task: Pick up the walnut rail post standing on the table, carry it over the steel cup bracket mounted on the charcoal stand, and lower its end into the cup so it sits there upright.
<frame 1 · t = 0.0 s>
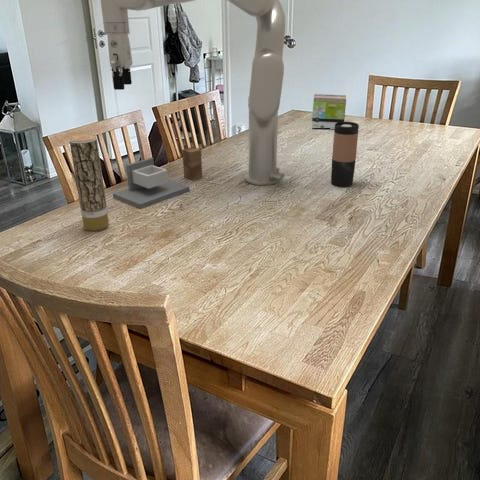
hand: (123, 86, 158), 31 cm above the table, tool pointing down, fingers open, 9 cm apart
travel mug: (341, 184, 166), on the table
brown bark cylinder: (96, 227, 137), on the table
tea box: (327, 127, 237), on the table
bracket stand: (152, 194, 159), on the table
rail post: (193, 177, 173), on the table
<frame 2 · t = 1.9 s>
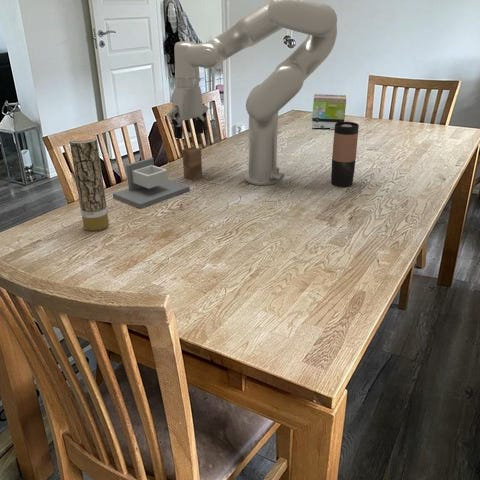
hand: (189, 135, 167), 15 cm above the table, tool pointing down, fingers open, 9 cm apart
nothing on the table moved.
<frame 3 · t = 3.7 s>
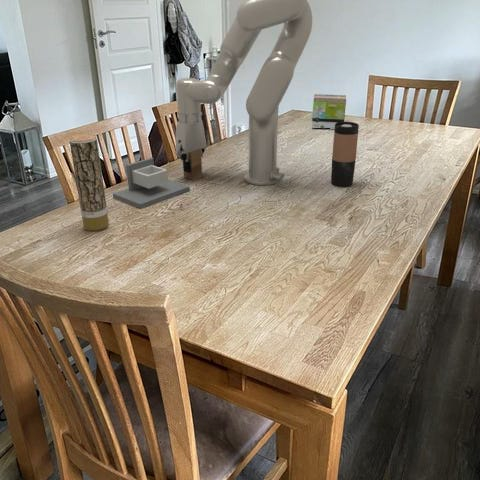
hand: (192, 169, 172), 3 cm above the table, tool pointing down, fingers closed on rail post, 4 cm apart
rail post: (193, 177, 173), on the table, touching gripper
everything else where it was.
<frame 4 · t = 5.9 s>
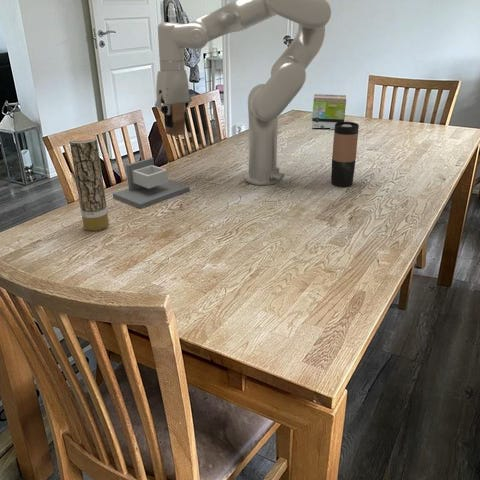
hand: (174, 124, 160), 20 cm above the table, tool pointing down, fingers closed on rail post, 4 cm apart
rail post: (175, 133, 161), point 17 cm above the table, touching gripper
everything else where it was.
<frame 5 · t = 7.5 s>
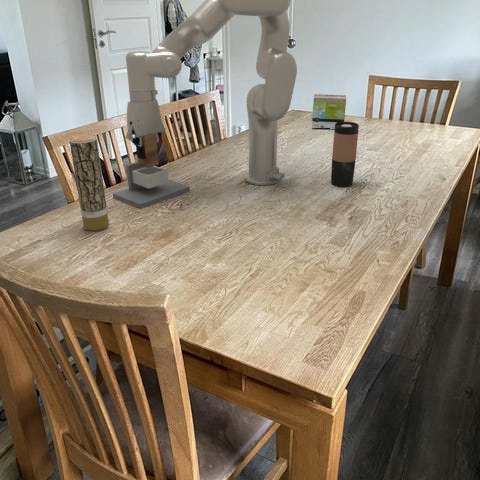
hand: (147, 155, 153), 13 cm above the table, tool pointing down, fingers closed on rail post, 4 cm apart
rail post: (148, 164, 154), point 10 cm above the table, touching gripper
everything else where it was.
when the fingers open (9 cm above the table, at t = 8.6 s): rail post drops 1 cm, resting on bracket stand.
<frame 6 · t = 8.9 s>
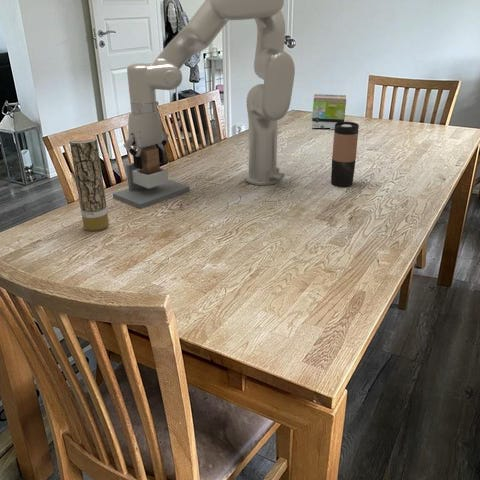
hand: (149, 164, 154), 10 cm above the table, tool pointing down, fingers open, 7 cm apart
rail post: (150, 179, 157), point 5 cm above the table, touching bracket stand
everything else where it was.
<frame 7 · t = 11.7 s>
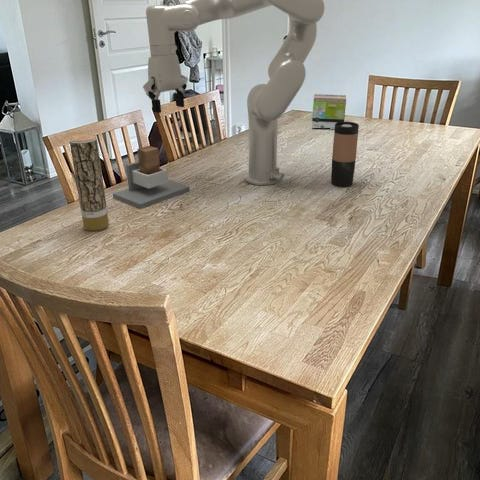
hand: (168, 109, 154), 25 cm above the table, tool pointing down, fingers open, 9 cm apart
nothing on the table moved.
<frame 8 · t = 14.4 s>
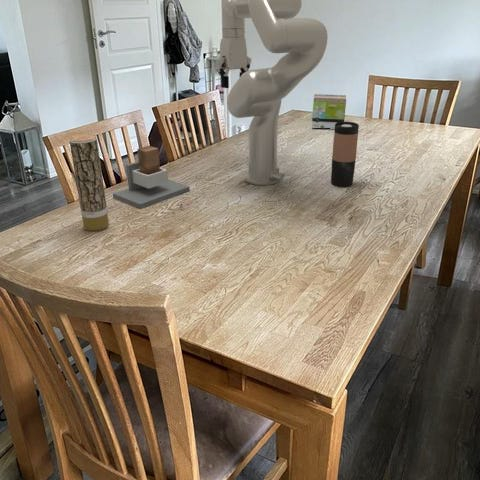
hand: (234, 85, 175), 28 cm above the table, tool pointing down, fingers open, 9 cm apart
nothing on the table moved.
at the end: rail post 0.0 cm off-centre on the bracket stand, point 5.0 cm above the bracket stand's base; rail post tilted 0°; the gripper is holding nothing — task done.
